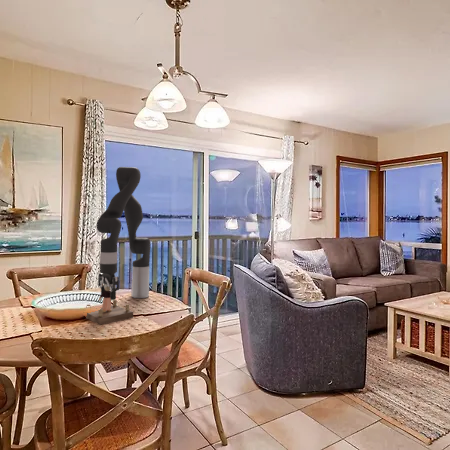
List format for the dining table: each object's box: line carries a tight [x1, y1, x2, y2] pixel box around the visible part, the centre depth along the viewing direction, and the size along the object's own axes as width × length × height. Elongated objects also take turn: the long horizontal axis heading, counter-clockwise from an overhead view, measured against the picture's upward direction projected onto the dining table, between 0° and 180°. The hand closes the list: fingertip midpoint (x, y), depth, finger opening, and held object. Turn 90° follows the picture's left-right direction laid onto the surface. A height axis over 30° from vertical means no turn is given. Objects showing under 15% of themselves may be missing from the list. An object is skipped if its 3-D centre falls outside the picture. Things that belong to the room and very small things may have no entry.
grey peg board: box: [85, 299, 134, 326], centre depth 160 cm, size 16×16×6 cm
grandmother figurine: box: [98, 284, 112, 312], centre depth 161 cm, size 8×4×13 cm, turn 135°
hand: (108, 297), depth 160 cm, fingers open, 8 cm apart
